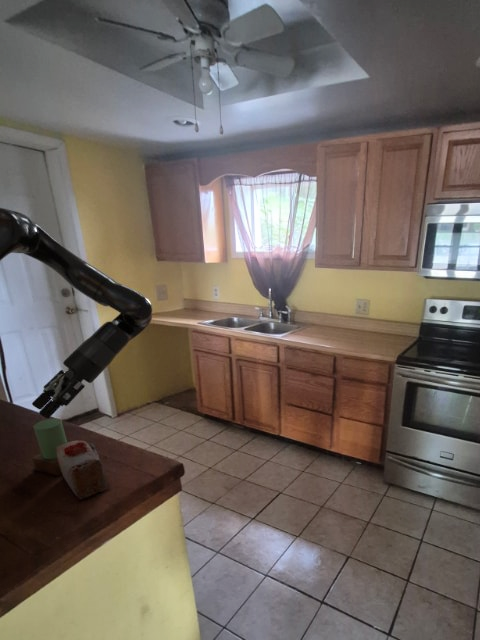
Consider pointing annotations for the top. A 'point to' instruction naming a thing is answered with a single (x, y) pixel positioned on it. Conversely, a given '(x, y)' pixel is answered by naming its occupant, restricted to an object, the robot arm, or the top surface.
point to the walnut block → (47, 465)
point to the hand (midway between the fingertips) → (39, 411)
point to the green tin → (50, 437)
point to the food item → (81, 468)
